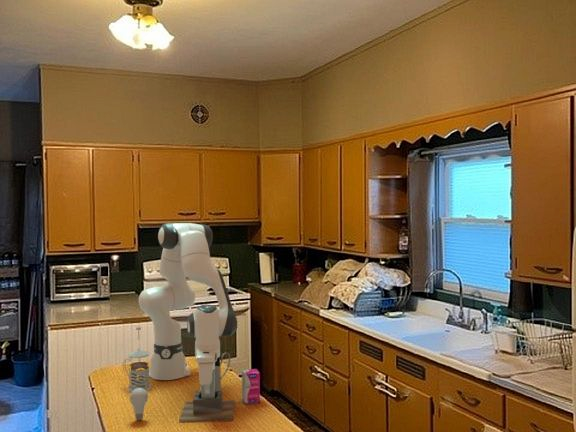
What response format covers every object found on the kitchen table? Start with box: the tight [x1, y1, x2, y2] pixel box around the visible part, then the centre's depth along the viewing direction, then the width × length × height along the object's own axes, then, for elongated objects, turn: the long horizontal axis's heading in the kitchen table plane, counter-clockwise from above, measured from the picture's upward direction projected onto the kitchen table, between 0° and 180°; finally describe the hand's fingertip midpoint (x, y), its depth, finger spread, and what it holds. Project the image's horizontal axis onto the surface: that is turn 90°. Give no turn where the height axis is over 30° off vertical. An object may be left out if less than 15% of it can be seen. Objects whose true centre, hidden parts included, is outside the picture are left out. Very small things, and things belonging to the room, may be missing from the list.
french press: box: [122, 325, 153, 393], centre depth 235 cm, size 10×12×25 cm
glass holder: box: [199, 352, 231, 392], centre depth 233 cm, size 9×14×15 cm, turn 135°
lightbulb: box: [129, 388, 149, 421], centre depth 199 cm, size 6×6×11 cm
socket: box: [178, 390, 236, 423], centre depth 207 cm, size 18×18×6 cm
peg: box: [200, 369, 215, 399], centre depth 207 cm, size 4×4×12 cm
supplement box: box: [241, 368, 261, 405], centre depth 217 cm, size 6×6×12 cm
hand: (208, 390), depth 207 cm, fingers closed on peg, 4 cm apart
